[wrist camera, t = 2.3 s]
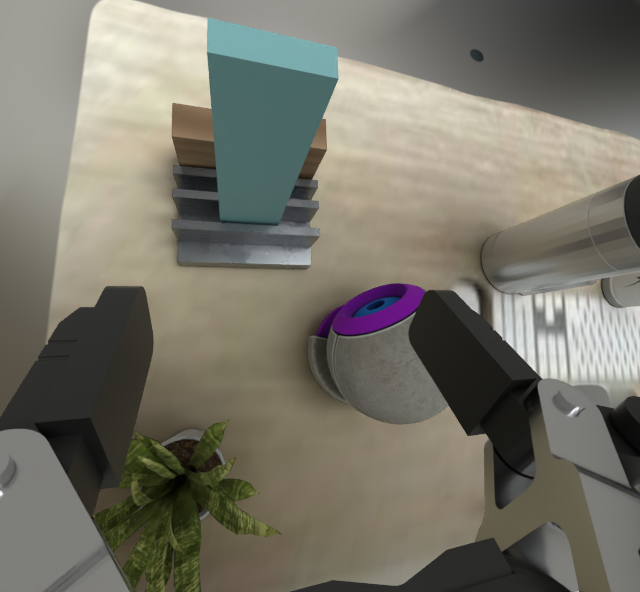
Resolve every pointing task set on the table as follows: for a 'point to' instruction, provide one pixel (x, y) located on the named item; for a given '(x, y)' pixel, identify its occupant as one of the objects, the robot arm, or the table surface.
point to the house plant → (176, 506)
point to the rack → (240, 227)
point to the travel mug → (622, 290)
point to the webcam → (375, 357)
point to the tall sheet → (264, 115)
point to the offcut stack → (198, 140)
